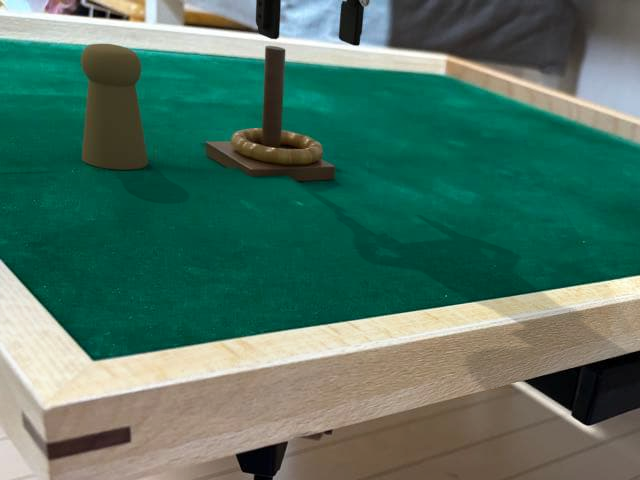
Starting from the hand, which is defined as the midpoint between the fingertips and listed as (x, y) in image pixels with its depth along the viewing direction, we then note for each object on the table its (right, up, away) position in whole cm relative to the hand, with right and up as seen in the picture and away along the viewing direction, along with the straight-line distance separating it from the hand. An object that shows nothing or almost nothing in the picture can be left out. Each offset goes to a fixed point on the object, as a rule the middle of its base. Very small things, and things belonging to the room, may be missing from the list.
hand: (310, 39), depth 93 cm
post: (-5, -13, +4) cm, 14 cm away
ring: (-4, -10, +3) cm, 12 cm away
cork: (-18, -14, -4) cm, 24 cm away
